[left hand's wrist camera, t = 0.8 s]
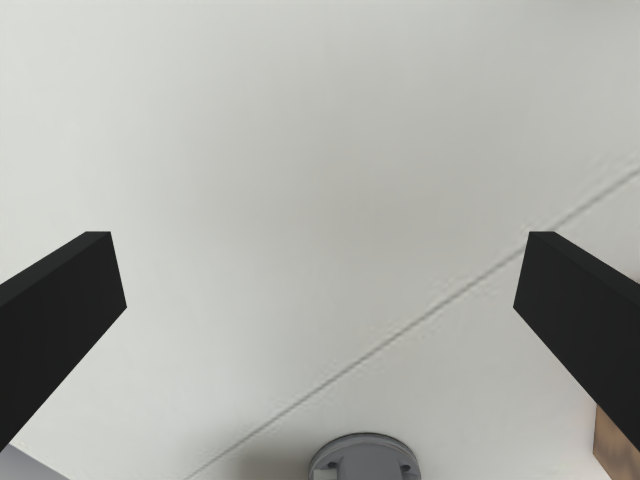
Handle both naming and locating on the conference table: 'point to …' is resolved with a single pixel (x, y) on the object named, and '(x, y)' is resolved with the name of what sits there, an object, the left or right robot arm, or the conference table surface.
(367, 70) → the conference table surface
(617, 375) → the left robot arm
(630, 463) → the bar
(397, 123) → the conference table surface
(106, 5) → the conference table surface
